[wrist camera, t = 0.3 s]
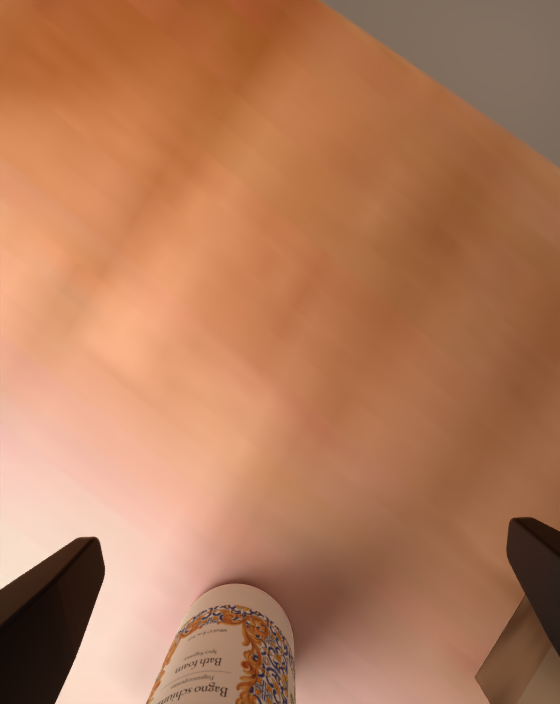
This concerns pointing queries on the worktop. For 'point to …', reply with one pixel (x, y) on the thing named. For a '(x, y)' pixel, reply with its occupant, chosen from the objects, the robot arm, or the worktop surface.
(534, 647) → the base block
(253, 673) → the bath foam
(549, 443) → the worktop surface
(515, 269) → the worktop surface
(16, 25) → the worktop surface
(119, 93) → the worktop surface
